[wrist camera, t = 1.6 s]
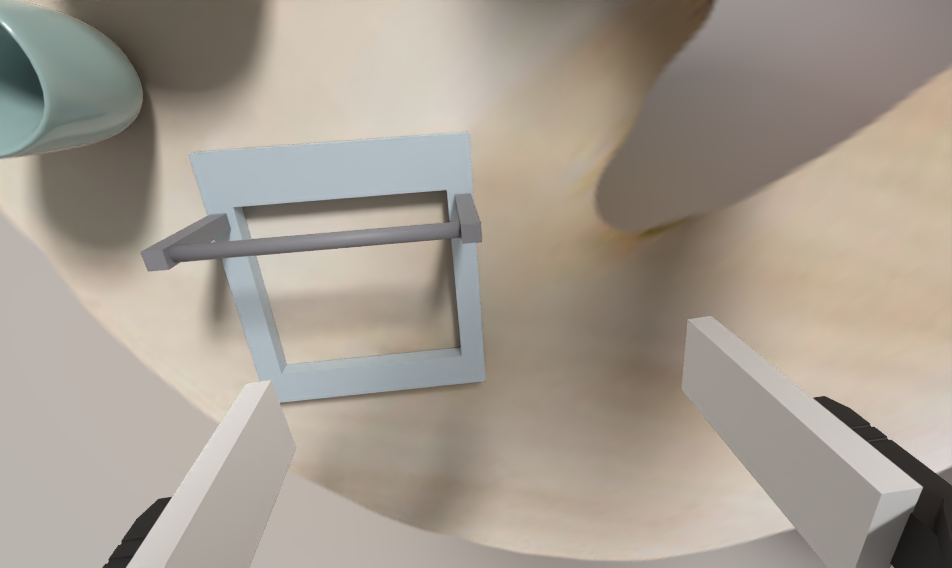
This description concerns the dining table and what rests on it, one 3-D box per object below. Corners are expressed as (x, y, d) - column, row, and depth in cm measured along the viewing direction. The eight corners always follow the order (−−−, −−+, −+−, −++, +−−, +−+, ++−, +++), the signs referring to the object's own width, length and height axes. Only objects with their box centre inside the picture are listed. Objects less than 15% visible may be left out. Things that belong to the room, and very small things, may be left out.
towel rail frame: (198, 151, 33) (105, 174, 23) (467, 131, 34) (479, 145, 24) (272, 393, 41) (226, 478, 32) (483, 371, 42) (497, 448, 33)
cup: (97, 159, 32) (-38, 185, 23) (8, 49, 29) (-187, 30, 20) (186, 111, 31) (85, 119, 22) (105, -6, 28) (-51, -53, 19)
